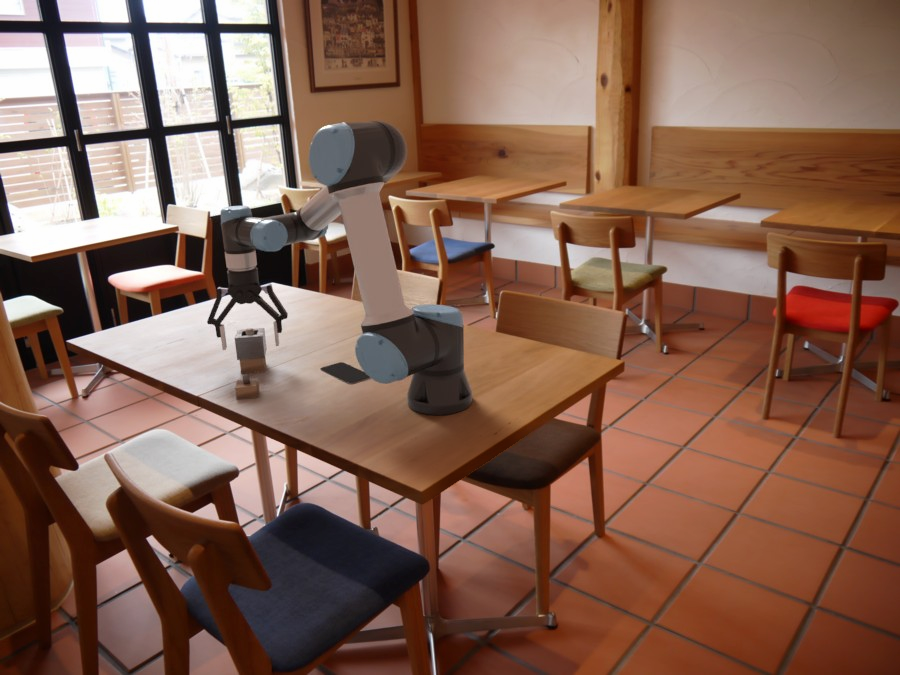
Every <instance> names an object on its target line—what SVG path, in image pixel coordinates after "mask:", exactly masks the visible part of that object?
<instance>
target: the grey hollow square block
mask: <svg viewBox="0 0 900 675" xmlns="http://www.w3.org/2000/svg"><path fill="white" fill-rule="evenodd" d="M253 331H254V335H247V336H246V331H245V329H237V330H236V332H235V336H234V343H235V344H234V345H235V352H236V360H237V361H240V360H244V359H257V358H266V355H267V354H266V353H267V340H266V330H265V327H260V328H259V327H258V328H253Z"/></svg>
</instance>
